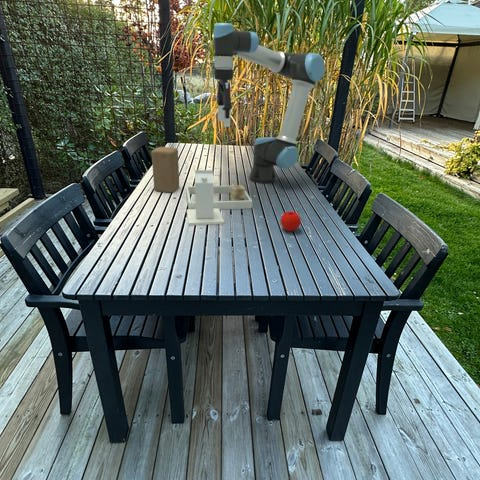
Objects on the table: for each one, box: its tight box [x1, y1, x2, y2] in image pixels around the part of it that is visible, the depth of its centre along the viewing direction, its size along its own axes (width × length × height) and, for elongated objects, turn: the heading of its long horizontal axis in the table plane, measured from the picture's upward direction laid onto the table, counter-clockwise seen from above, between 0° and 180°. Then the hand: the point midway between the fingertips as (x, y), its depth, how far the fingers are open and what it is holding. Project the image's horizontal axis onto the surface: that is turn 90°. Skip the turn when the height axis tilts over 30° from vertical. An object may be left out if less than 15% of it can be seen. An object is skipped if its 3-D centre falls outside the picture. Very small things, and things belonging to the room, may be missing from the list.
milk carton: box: [194, 169, 215, 218], centre depth 135 cm, size 7×7×19 cm
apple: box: [280, 211, 302, 232], centre depth 131 cm, size 8×8×7 cm
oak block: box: [229, 184, 246, 201], centre depth 153 cm, size 5×5×8 cm
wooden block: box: [150, 146, 180, 194], centre depth 164 cm, size 10×10×20 cm
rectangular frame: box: [185, 184, 253, 211], centre depth 157 cm, size 28×22×4 cm
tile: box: [186, 208, 225, 226], centre depth 140 cm, size 14×14×1 cm
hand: (223, 123), depth 146 cm, fingers open, 13 cm apart
